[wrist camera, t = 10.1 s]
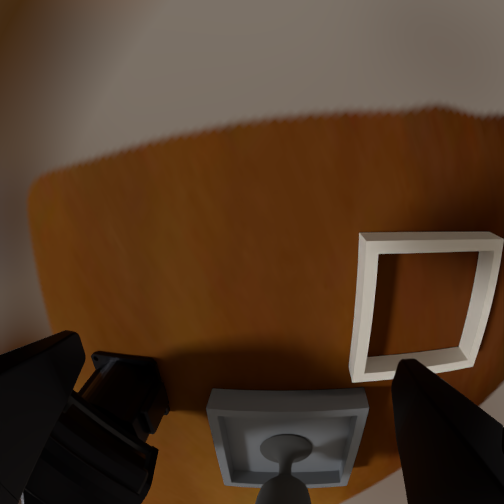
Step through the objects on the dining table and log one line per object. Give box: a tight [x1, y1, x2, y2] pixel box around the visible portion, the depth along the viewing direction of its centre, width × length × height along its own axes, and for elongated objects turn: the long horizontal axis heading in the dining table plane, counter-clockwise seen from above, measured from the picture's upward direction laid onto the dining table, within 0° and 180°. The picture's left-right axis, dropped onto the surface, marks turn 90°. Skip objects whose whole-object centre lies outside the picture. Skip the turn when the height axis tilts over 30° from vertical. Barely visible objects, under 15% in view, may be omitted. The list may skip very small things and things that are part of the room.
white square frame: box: [349, 232, 504, 383], centre depth 20 cm, size 11×11×2 cm
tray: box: [206, 387, 369, 488], centre depth 25 cm, size 13×13×2 cm
